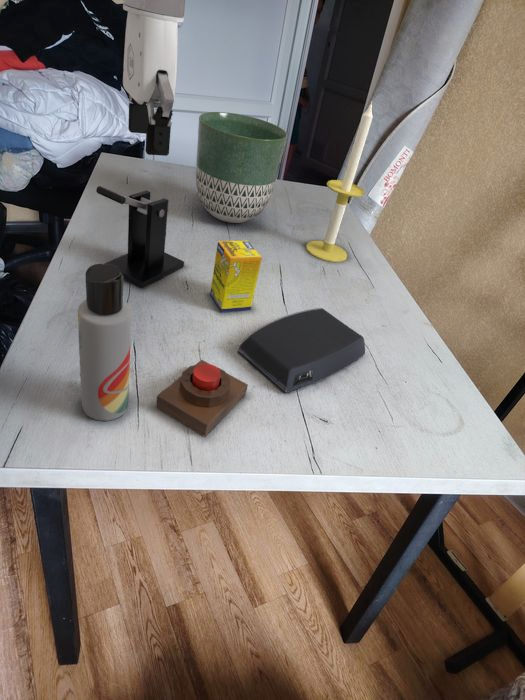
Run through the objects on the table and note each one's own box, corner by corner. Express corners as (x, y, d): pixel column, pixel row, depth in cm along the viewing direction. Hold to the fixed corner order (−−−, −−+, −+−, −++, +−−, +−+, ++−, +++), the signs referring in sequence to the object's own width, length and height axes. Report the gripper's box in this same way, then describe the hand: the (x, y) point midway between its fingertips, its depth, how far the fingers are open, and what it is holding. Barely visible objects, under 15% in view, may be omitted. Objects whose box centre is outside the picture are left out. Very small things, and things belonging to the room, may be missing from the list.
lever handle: (118, 207, 73) (123, 192, 73) (93, 196, 75) (98, 181, 74) (162, 220, 84) (166, 207, 84) (139, 210, 86) (144, 197, 85)
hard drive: (232, 348, 76) (236, 328, 74) (313, 318, 88) (319, 299, 86) (288, 398, 70) (294, 377, 67) (367, 358, 82) (375, 339, 79)
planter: (183, 226, 108) (192, 126, 95) (195, 196, 124) (205, 106, 111) (267, 242, 110) (288, 146, 97) (268, 211, 125) (287, 124, 113)
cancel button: (208, 395, 62) (210, 385, 61) (186, 382, 63) (187, 372, 62) (224, 381, 64) (226, 371, 63) (202, 369, 65) (203, 359, 64)
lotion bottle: (136, 411, 62) (143, 277, 50) (94, 428, 58) (91, 289, 46) (115, 385, 65) (116, 252, 53) (74, 399, 61) (65, 261, 49)
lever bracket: (142, 288, 85) (146, 215, 77) (104, 269, 87) (103, 196, 79) (183, 266, 94) (191, 199, 86) (147, 249, 96) (151, 182, 88)
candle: (352, 252, 115) (402, 106, 96) (338, 266, 107) (389, 111, 88) (315, 237, 118) (356, 92, 98) (299, 250, 110) (340, 95, 91)
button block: (205, 437, 61) (209, 415, 58) (155, 407, 63) (157, 385, 61) (245, 395, 68) (250, 374, 66) (200, 370, 71) (203, 349, 68)
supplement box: (208, 294, 88) (217, 240, 81) (238, 292, 90) (248, 239, 84) (220, 313, 84) (229, 257, 77) (251, 310, 86) (263, 256, 80)
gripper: (108, -13, 64) (108, 123, 74) (142, 5, 53) (137, 162, 63) (163, -1, 67) (156, 127, 78) (206, 18, 56) (191, 165, 66)
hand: (147, 143), depth 70 cm, fingers open, 9 cm apart
